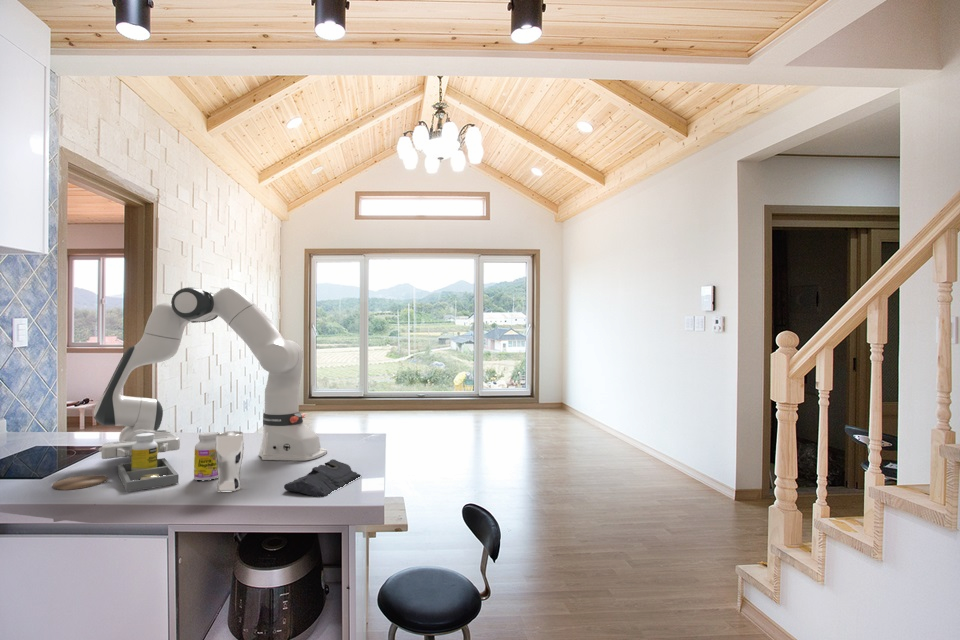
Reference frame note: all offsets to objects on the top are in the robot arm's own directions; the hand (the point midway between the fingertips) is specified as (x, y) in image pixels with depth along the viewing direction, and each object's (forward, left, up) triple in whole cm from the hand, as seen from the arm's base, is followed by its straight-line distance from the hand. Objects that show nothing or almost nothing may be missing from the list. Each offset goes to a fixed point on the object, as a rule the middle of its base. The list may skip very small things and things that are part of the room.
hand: (144, 451), depth 155 cm
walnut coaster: (+9, +12, -7) cm, 16 cm away
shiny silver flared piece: (-34, +6, -7) cm, 35 cm away
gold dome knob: (-9, +7, -7) cm, 13 cm away
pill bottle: (0, 0, -7) cm, 7 cm away
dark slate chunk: (-55, -5, -7) cm, 56 cm away
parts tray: (-4, +3, -7) cm, 9 cm away
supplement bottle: (-21, -1, -7) cm, 22 cm away
